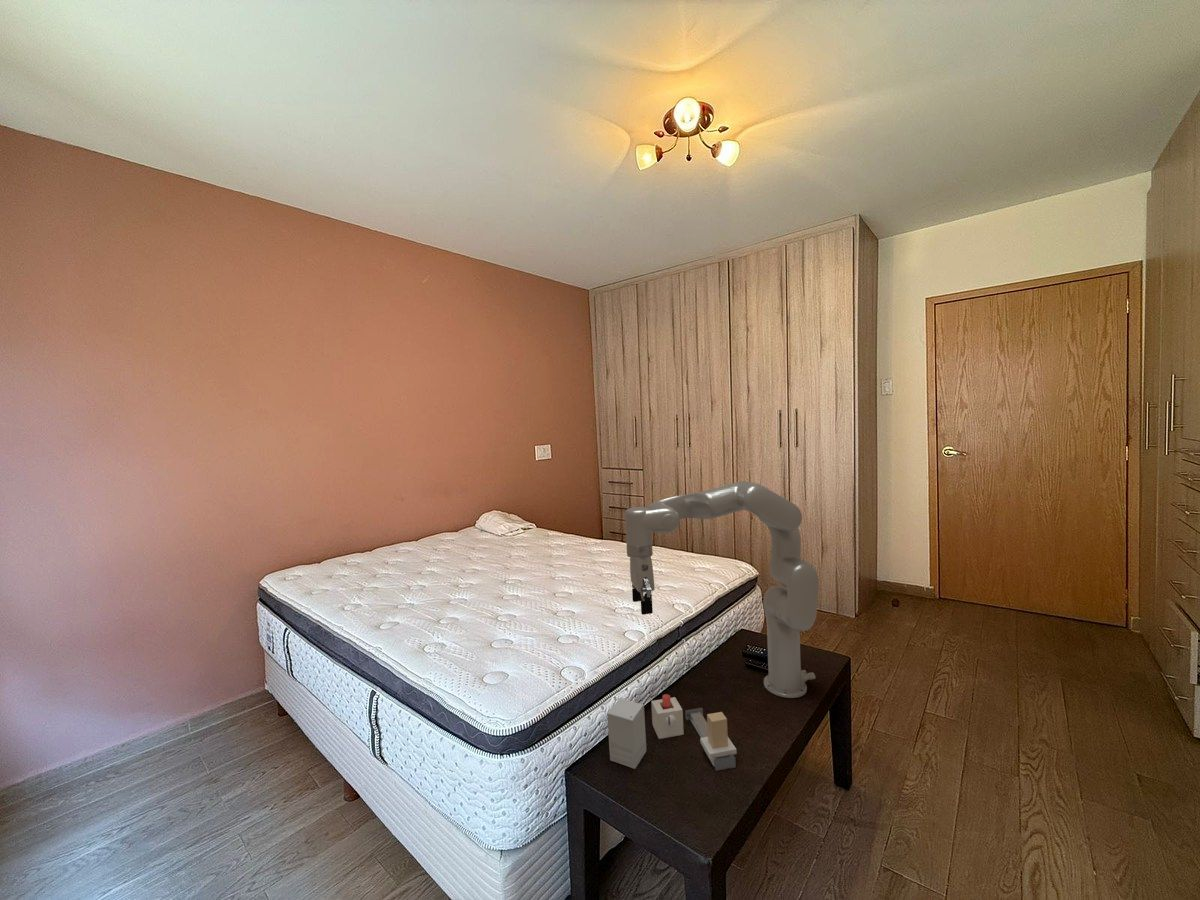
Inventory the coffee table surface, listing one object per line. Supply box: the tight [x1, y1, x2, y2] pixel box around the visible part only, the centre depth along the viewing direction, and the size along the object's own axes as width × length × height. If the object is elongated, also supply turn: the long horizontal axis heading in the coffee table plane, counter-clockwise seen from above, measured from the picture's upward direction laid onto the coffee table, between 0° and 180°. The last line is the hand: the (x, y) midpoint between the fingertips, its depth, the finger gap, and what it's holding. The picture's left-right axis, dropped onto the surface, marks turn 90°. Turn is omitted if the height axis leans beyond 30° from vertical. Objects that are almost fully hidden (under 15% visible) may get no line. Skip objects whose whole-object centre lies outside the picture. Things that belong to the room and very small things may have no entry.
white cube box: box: [650, 696, 685, 740], centre depth 126 cm, size 7×7×7 cm
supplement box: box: [606, 697, 647, 770], centre depth 117 cm, size 7×7×13 cm
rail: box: [685, 707, 737, 772], centre depth 122 cm, size 5×21×2 cm, turn 10°
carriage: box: [699, 711, 737, 767], centre depth 115 cm, size 7×6×10 cm
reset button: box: [661, 693, 671, 710], centre depth 127 cm, size 2×2×5 cm
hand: (642, 607), depth 135 cm, fingers open, 9 cm apart
